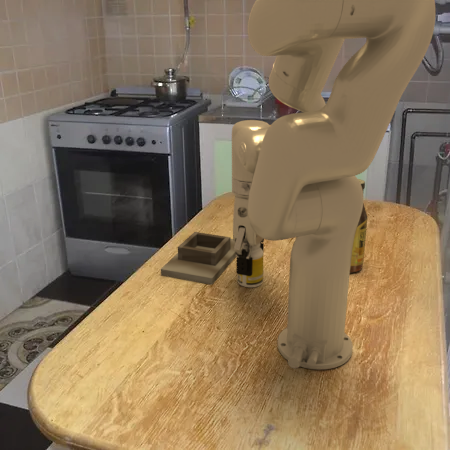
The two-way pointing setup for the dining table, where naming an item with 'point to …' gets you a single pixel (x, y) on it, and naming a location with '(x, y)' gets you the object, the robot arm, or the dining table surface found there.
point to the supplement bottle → (253, 268)
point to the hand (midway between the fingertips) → (250, 266)
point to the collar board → (201, 258)
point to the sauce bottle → (359, 240)
